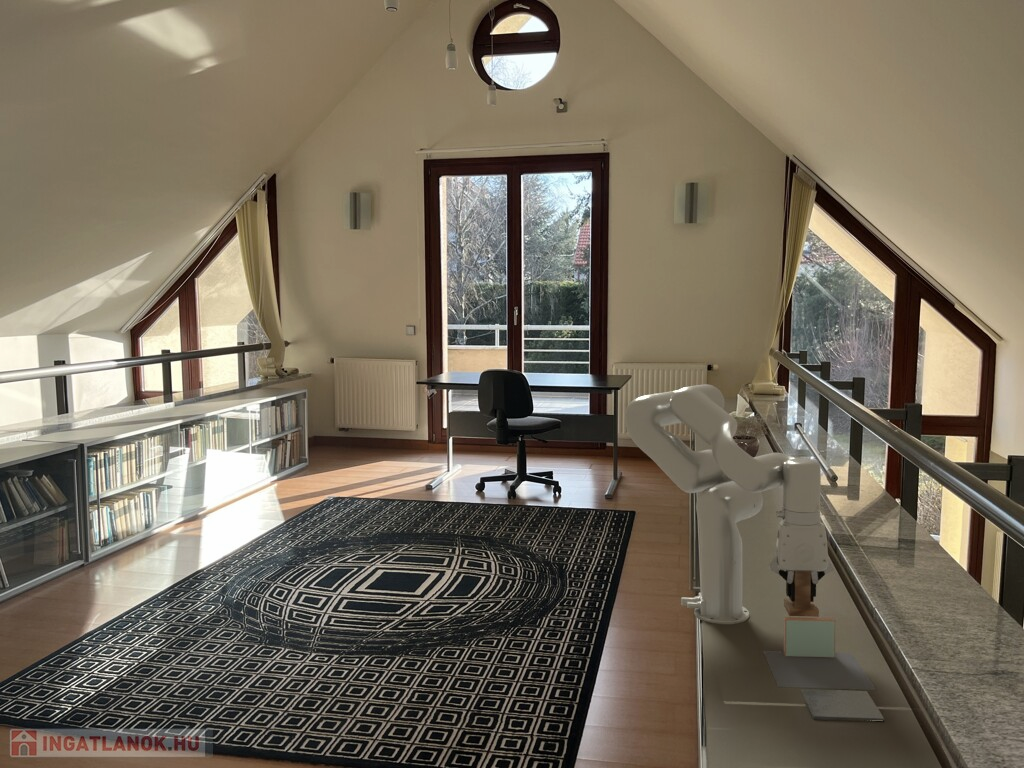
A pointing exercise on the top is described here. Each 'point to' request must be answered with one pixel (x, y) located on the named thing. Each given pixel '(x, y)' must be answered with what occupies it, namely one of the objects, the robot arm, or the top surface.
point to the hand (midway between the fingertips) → (800, 598)
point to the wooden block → (802, 596)
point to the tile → (809, 637)
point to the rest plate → (841, 705)
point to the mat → (818, 671)
